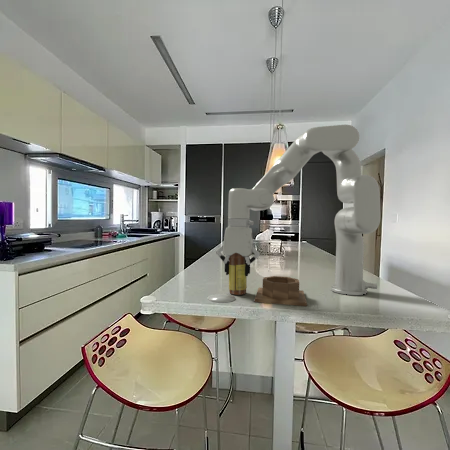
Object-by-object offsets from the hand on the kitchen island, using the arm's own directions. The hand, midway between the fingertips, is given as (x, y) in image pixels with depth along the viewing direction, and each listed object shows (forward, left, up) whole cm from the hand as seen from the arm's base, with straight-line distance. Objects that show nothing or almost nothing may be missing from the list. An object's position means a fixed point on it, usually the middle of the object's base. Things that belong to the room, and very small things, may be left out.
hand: (237, 274), depth 100 cm
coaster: (+4, +8, -7) cm, 11 cm away
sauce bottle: (0, 0, -7) cm, 7 cm away
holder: (-15, +1, -7) cm, 17 cm away
